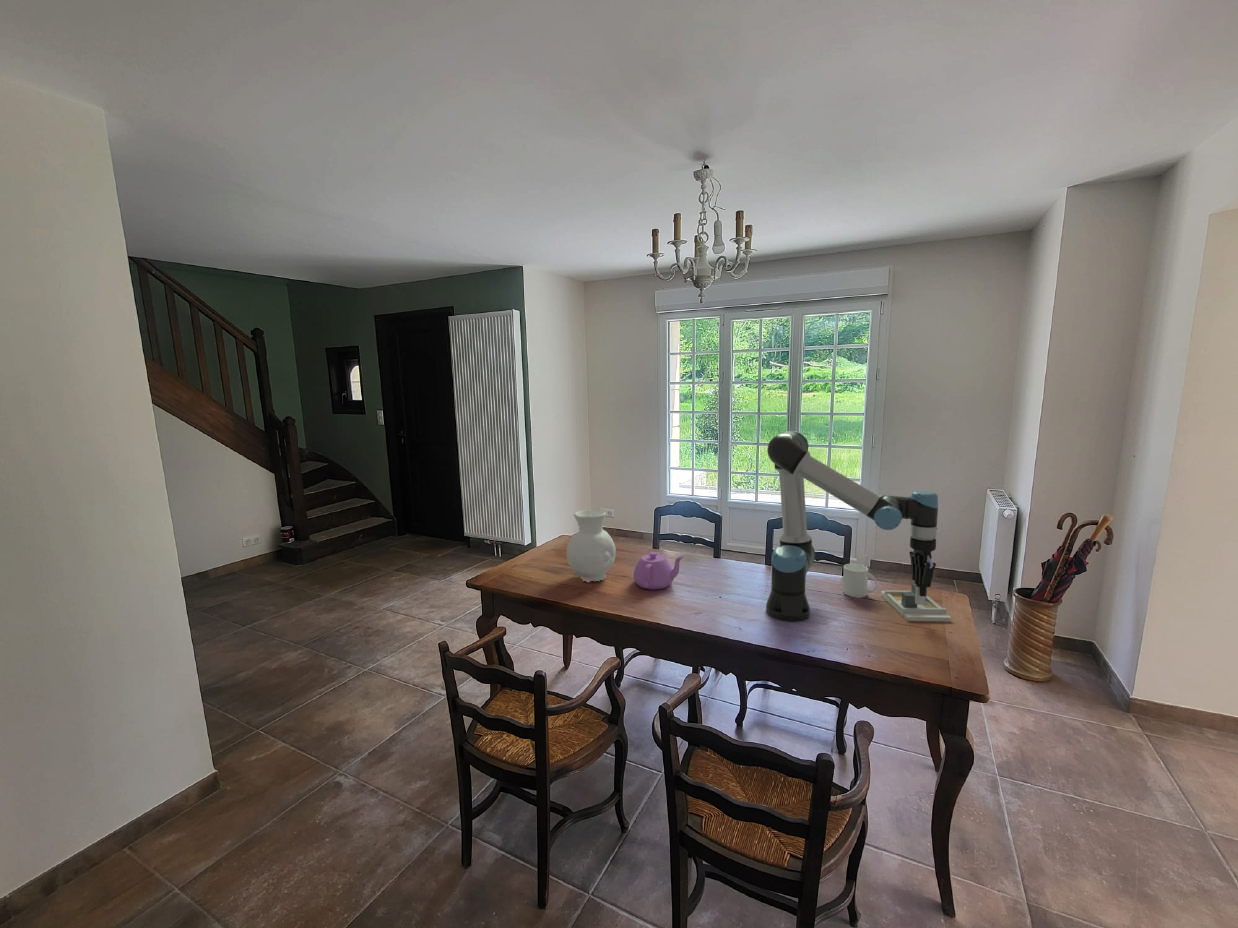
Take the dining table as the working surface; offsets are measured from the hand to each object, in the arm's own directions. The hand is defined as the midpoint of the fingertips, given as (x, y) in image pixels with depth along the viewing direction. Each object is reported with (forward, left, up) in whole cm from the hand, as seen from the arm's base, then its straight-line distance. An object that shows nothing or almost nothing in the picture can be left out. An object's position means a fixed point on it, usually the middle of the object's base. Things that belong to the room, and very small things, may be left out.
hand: (920, 603), depth 172 cm
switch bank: (+3, +11, -6) cm, 13 cm away
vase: (-119, +37, -7) cm, 125 cm away
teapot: (-90, +31, -7) cm, 95 cm away
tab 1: (0, +7, -5) cm, 8 cm away
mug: (-12, +22, -7) cm, 26 cm away
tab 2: (+7, +15, -5) cm, 17 cm away
